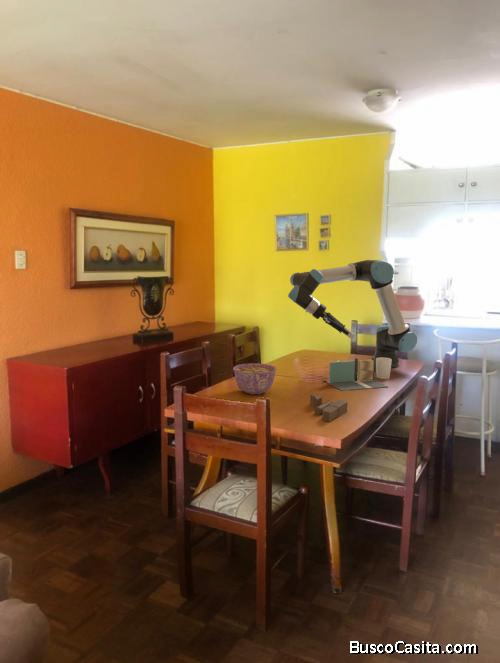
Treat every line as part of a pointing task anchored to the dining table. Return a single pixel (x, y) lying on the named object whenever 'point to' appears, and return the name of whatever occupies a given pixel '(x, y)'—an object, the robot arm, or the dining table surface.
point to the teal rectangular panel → (342, 371)
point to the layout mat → (357, 385)
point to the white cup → (383, 368)
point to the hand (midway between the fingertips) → (353, 337)
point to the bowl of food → (254, 377)
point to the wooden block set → (328, 408)
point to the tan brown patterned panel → (364, 369)
